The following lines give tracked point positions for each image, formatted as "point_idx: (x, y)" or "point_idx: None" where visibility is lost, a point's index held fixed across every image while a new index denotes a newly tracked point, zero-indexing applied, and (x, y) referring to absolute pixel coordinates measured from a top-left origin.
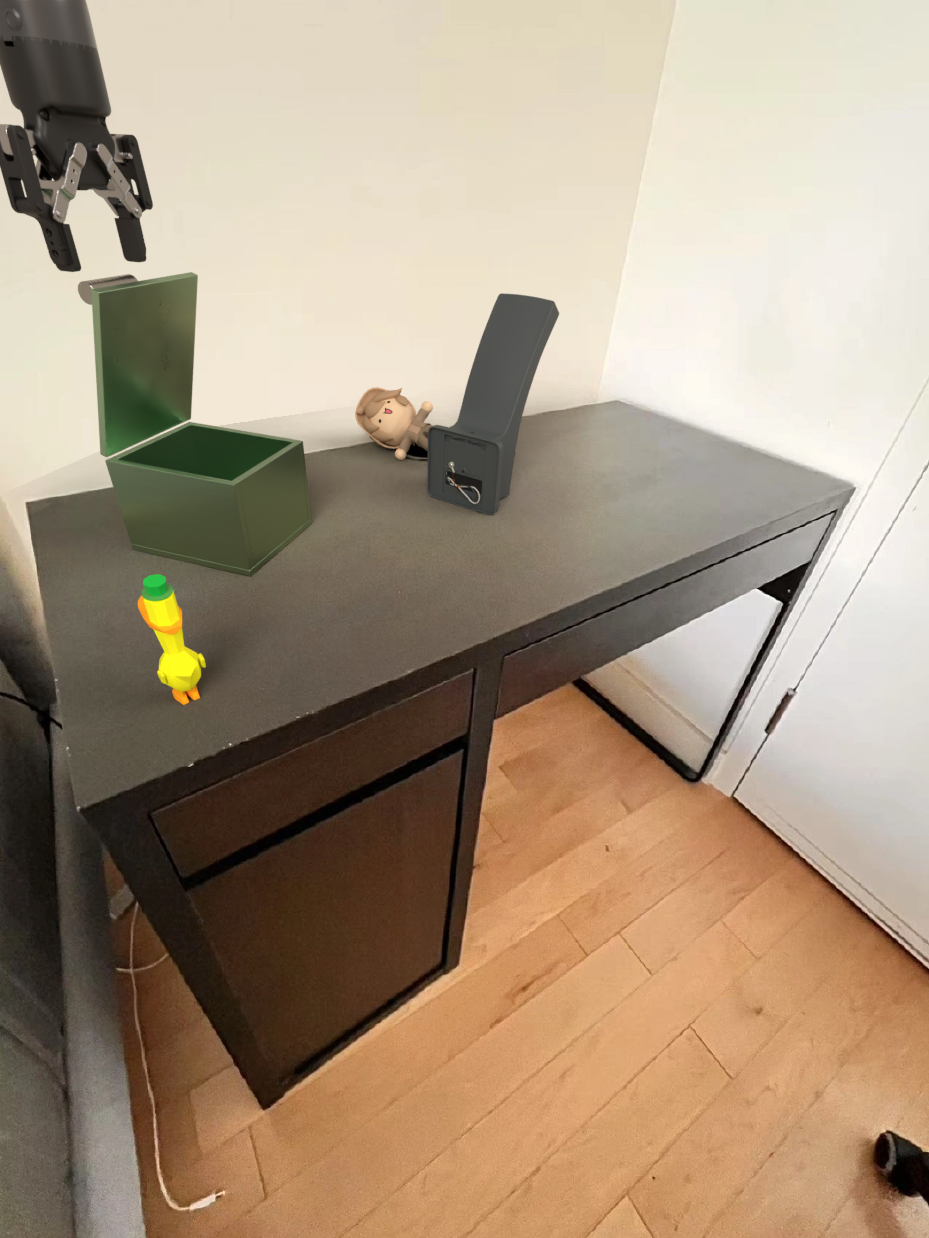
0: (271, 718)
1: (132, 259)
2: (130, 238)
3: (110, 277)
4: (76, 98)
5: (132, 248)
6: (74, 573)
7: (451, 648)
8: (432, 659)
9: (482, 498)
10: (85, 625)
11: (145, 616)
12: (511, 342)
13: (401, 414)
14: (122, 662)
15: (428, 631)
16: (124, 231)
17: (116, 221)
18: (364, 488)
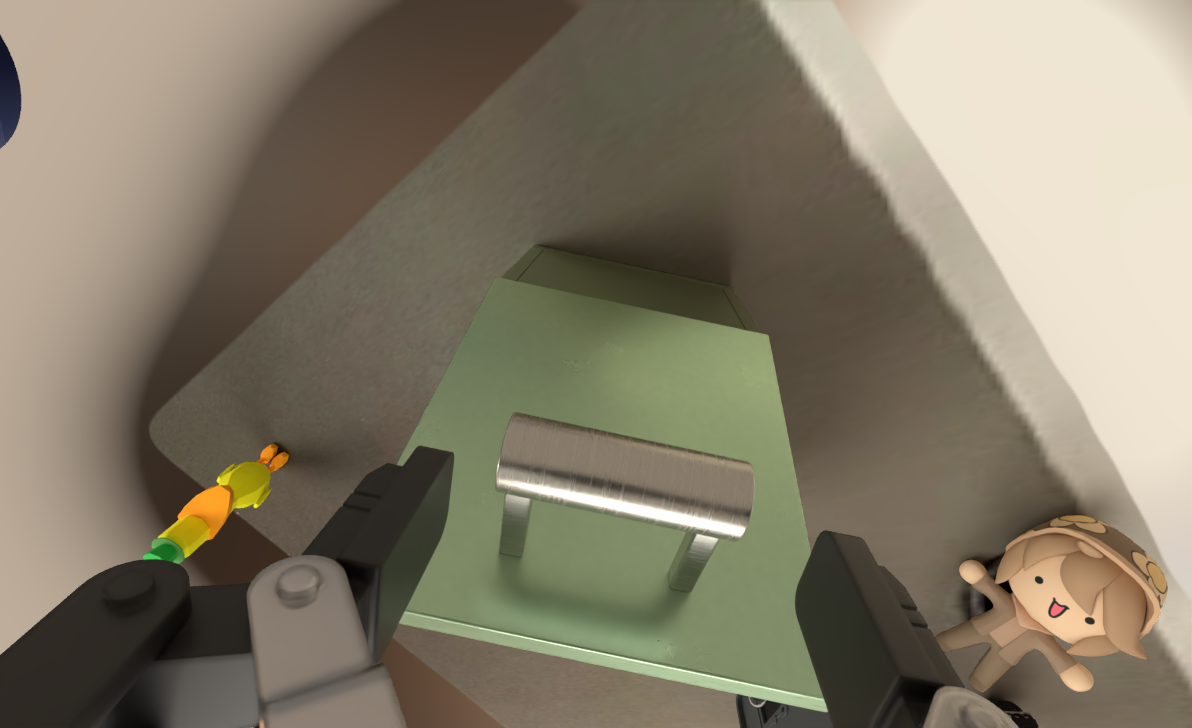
0: (278, 535)
1: (809, 566)
2: (835, 650)
3: (632, 507)
4: None
5: (821, 612)
6: (446, 192)
7: (426, 659)
8: (404, 645)
9: (757, 699)
10: (339, 288)
11: (185, 510)
12: None
13: (1048, 628)
14: (295, 370)
15: (447, 639)
16: (858, 654)
17: (887, 669)
18: (823, 526)
